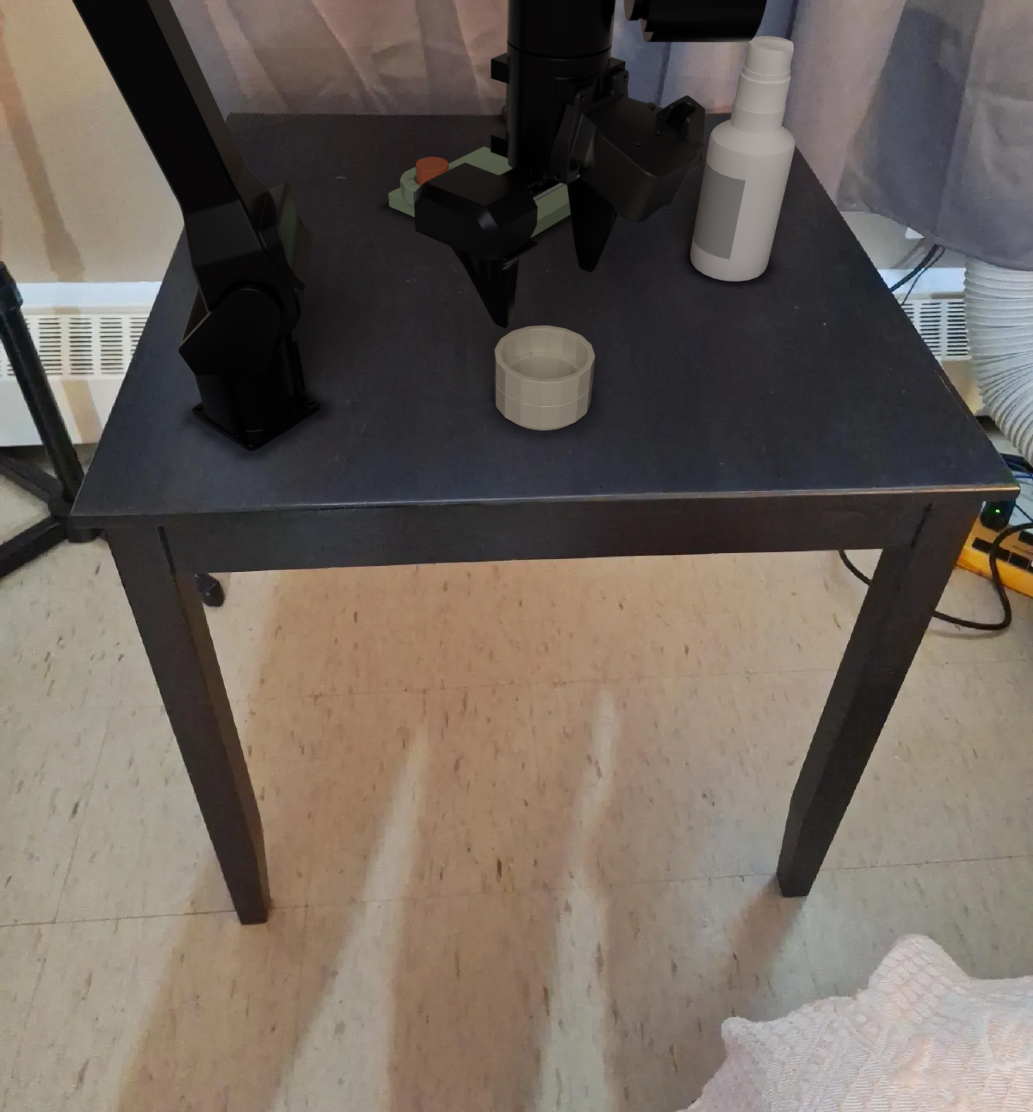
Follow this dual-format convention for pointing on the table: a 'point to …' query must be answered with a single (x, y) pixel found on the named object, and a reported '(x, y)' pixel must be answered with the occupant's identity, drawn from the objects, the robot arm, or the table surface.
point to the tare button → (430, 168)
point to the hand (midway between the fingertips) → (546, 296)
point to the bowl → (543, 377)
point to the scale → (548, 206)
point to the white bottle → (746, 169)
